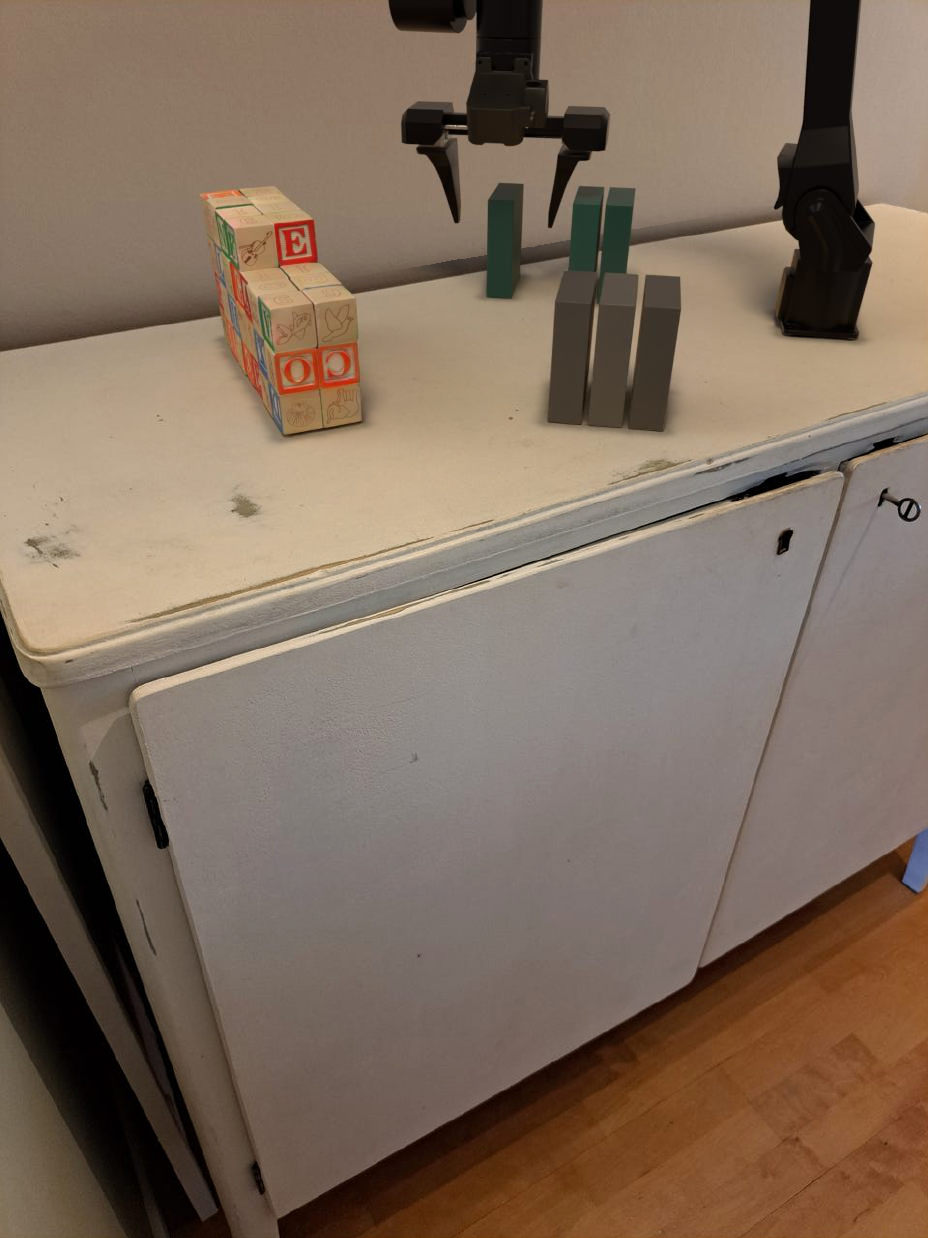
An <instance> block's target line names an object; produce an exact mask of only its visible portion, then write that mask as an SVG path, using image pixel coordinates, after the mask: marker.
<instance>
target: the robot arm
mask: <svg viewBox="0 0 928 1238" xmlns="http://www.w3.org/2000/svg"><path fill="white" fill-rule="evenodd" d="M387 2H388V9H389V14H390V17H391V20H392V22H393V24H394V26H395V28H396V29H397V30H398V31H400V32H412V33H413V32H414V33H416V32H417V33H437V34H438V33H439V34H462V32H463V31H464V29H465V28H466V25H467V23H468V21H473V19H474V18H475V66H474V67H475V68H474V73H473V77H472V79H471V84H470V87H469V93H468V95H467V99H466V102H465V106H466V107H465V109H466V112H457V111H456V112H455V108H454V103H453V102H452V101H427V100H425V101H424V100H423V101H421V100H418V101H416V102H414V103H412V105H410V106H409V107H407V108H406V110H405V111H404V112H403V114H402V115H401V122H400V131H401V144H405V145H415V146H416V145H417V146H416V147H415V149H416V151H415V152H416V154H418V155H422V156H423V155H424V156H426V157H427V158H428V160H429V161H430V163H431V164H432V166H433V167H434V169H435V172H436V173H437V175H438V178H439V180H440V183H441V186H442V189H443V192H444V195H445V198H446V200H447V205H448V208H449V211H450V213H451V216H452V220H453V222H454V224H459V223H460V222H461V214H462V213H461V212H462V196H461V179H460V177H461V176H460V162H459V145H458V138H457V137H453V136H467V140H468V142H469V143H470V144H472V145H474V146H483V145H484V144H496V145H497V144H499V145H500V144H501V145H504V146H505V147H516V146H519V145H520V144H522V143H523V142H524V138H527V139H530V138H532V139H555V140H561V144H562V145H561V147H560V149H559V151H558V153H557V156H556V165H555V172H554V178H553V185H552V188H551V189H552V190H551V196H550V201H549V206H548V207H549V208H548V213H547V214H548V215H547V229H552V228H553V226H554V223H555V222H556V221H555V220H556V217H557V216H558V212H559V209H560V206H561V202H562V200H563V197H564V194H565V192H566V189H567V186H568V184H569V182H570V179H571V178H572V175H573V173H574V171H575V170H576V168H577V166H578V164H579V163H580V162H587V161H590V160H591V158H592V155H593V152H603V151H606V149H607V145H608V142H609V135H610V124H611V113H610V112H609V110H607V108H606V107H605V106H586V105H585V106H584V105H583V106H582V105H581V106H580V105H568V106H567V108H566V110H565V112H564V113H563V115H549V110H550V109H549V108H550V105H549V104H550V88H549V86H550V85H549V79H540V74H541V55H542V54H541V53H542V28H543V27H542V26H543V7H544V6H543V4H544V0H387ZM861 10H862V0H809V14H808V29H807V30H808V31H807V45H806V47H807V48H806V60H805V62H806V63H805V77H804V78H805V79H804V94H803V95H804V96H803V98H804V99H803V110H802V111H803V113H802V123H801V126H800V132H799V135H798V140H797V143H794V142H793V143H791V142H785V143H784V145H783V146H782V148H781V149H780V152H779V153H778V155H777V157H776V162H777V163H776V165H777V173H778V174H777V175H778V184H779V185H778V186H779V188H778V196H777V199H776V201H775V203H774V205H773V209H774V211H777V210H778V209H780V208H782V210H781V219H782V225H783V227H784V229H785V231H786V232H787V233H788V234H789V235H790V236H791V237H792V238H793V239H794V240H796V241H797V243H798V248H794V250H793V253H792V254H793V255H792V258H791V263H790V266H784V268H783V269H782V275H781V279H780V284H779V289H778V293H777V299H776V303H775V306H774V307H775V308H774V312H775V316H776V317H775V318H776V319H777V321H778V322H779V325H780V327H781V331H782V333H783V334H784V335H790V336H807V337H822V338H836V339H837V338H840V339H858V338H859V335H860V330H859V329H858V327H857V323H858V319H859V315H860V312H861V308H862V304H863V300H864V296H865V293H866V290H867V286H868V281H869V278H870V275H871V272H872V271H871V270H872V267H873V263H874V262H873V261H872V259H871V257H870V255H871V253H872V251H873V245H874V238H875V230H876V222H875V221H874V219H873V218H872V216H871V215H870V213H869V212H868V211H867V209H866V208H865V206H864V205H863V204H862V202H861V201H860V199H859V196H858V195H859V193H860V192H859V191H860V181H859V169H858V157H857V145H856V136H855V128H854V119H853V101H854V99H853V98H854V87H855V79H856V77H855V76H856V65H857V54H858V42H859V31H860V21H861Z"/></svg>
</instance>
